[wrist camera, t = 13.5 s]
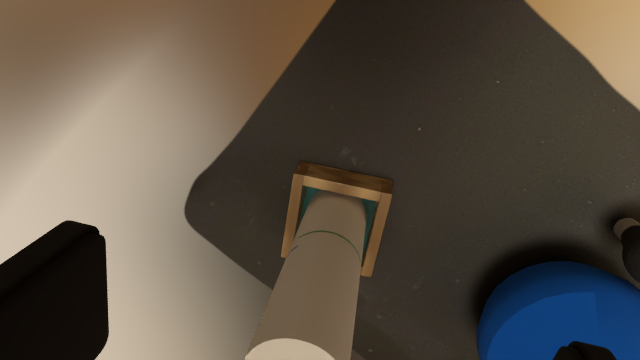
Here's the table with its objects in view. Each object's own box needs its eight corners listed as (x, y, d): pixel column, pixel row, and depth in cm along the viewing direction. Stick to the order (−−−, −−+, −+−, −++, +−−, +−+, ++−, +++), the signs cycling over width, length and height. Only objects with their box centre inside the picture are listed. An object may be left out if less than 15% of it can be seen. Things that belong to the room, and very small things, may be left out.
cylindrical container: (295, 215, 53) (222, 378, 30) (332, 174, 50) (282, 319, 27) (340, 250, 53) (303, 435, 31) (379, 212, 51) (369, 383, 28)
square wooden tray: (288, 239, 55) (280, 256, 51) (300, 160, 51) (293, 173, 47) (372, 258, 54) (371, 277, 50) (392, 180, 50) (392, 194, 46)
